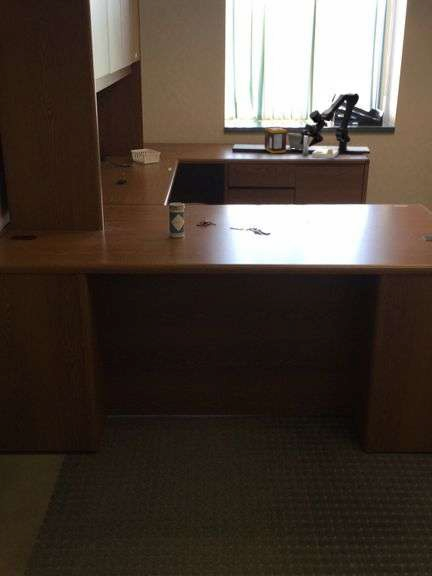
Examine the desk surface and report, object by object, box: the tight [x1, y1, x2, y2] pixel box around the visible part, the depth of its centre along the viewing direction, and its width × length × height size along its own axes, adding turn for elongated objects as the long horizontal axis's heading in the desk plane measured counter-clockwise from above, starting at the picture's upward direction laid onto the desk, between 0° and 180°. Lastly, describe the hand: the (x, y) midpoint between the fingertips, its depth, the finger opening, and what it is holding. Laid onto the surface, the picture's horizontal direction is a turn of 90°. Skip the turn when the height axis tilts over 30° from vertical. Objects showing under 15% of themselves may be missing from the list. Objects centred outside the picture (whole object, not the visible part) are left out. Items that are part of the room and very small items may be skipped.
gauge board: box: [311, 148, 339, 159], centre depth 431 cm, size 16×14×5 cm
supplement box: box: [264, 126, 288, 154], centre depth 442 cm, size 10×15×16 cm
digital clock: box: [287, 132, 310, 150], centre depth 450 cm, size 16×9×11 cm, turn 39°
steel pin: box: [302, 136, 310, 157], centre depth 429 cm, size 4×4×13 cm
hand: (304, 145), depth 428 cm, fingers open, 9 cm apart
